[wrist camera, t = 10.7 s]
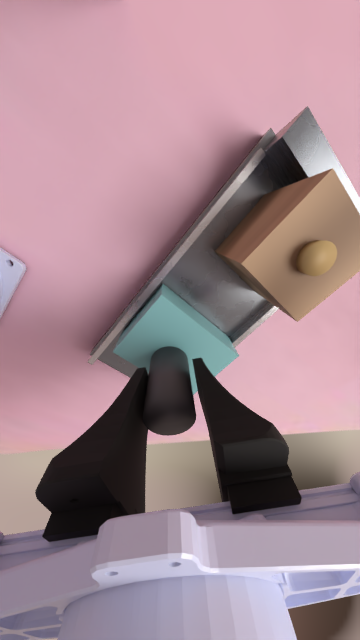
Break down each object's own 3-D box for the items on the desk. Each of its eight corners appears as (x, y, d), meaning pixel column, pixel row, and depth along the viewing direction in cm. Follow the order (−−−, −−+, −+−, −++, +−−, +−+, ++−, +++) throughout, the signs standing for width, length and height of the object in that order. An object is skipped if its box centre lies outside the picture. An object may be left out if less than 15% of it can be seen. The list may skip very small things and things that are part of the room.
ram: (121, 332, 17) (86, 407, 10) (162, 283, 15) (157, 330, 8) (186, 374, 19) (196, 459, 12) (228, 336, 18) (268, 408, 11)
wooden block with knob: (214, 251, 14) (245, 265, 9) (265, 194, 13) (343, 163, 7) (254, 291, 16) (303, 325, 10) (303, 244, 15) (393, 253, 9)
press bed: (93, 348, 19) (75, 376, 15) (263, 135, 12) (301, 96, 9) (169, 392, 22) (169, 424, 18) (335, 241, 16) (385, 244, 12)
